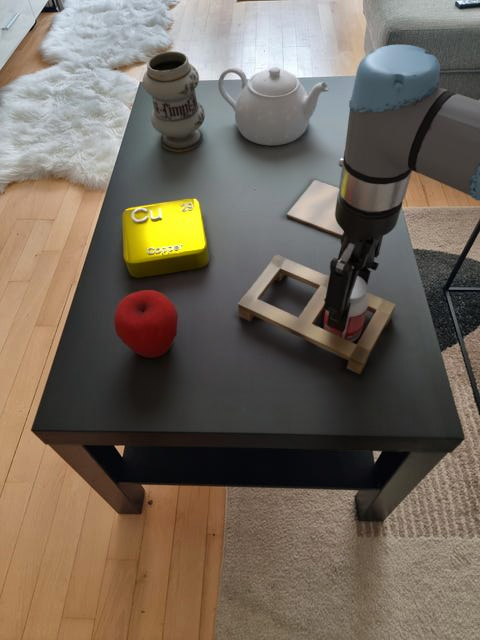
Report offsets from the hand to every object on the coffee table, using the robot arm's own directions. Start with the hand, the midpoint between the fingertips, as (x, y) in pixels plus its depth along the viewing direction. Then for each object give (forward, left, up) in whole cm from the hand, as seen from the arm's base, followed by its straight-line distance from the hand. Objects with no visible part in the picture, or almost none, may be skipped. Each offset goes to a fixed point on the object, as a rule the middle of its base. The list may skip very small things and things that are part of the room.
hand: (345, 311), depth 75 cm
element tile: (+37, -1, -5) cm, 37 cm away
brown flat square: (+15, -25, -5) cm, 30 cm away
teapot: (+39, -44, -5) cm, 59 cm away
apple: (+25, +18, -5) cm, 31 cm away
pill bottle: (0, 0, -5) cm, 5 cm away
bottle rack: (+5, 0, -5) cm, 7 cm away
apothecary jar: (+55, -30, -5) cm, 63 cm away
